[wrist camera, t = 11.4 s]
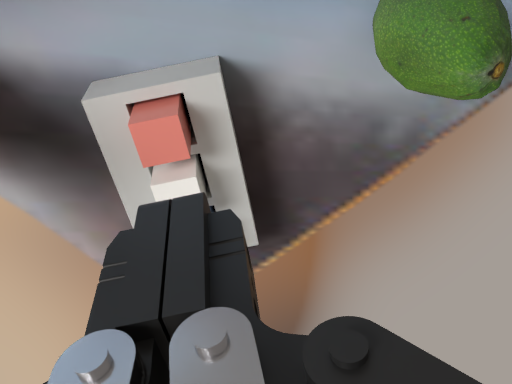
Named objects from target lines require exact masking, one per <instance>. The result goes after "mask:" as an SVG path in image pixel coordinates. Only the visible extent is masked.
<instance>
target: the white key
mask: <svg viewBox="0 0 512 384" xmlns="http://www.w3.org/2000/svg"><path fill="white" fill-rule="evenodd" d="M150 187H151V190H152V192H153V195H154V198H155V201H156V202H158V201H163V200H168V199H173V198H177V197H182V196H187V195H192V194H196V193H201V192H204V193H205V194H206V182H205V179H204V175H203V172H202V168H201V165H200V161H199V157H198V154H194V155H191V158H190V159H185V160H180V161H176V162H171V163H166V164H161V165H156V166H153V172H152V178H151V184H150Z"/></svg>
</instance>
